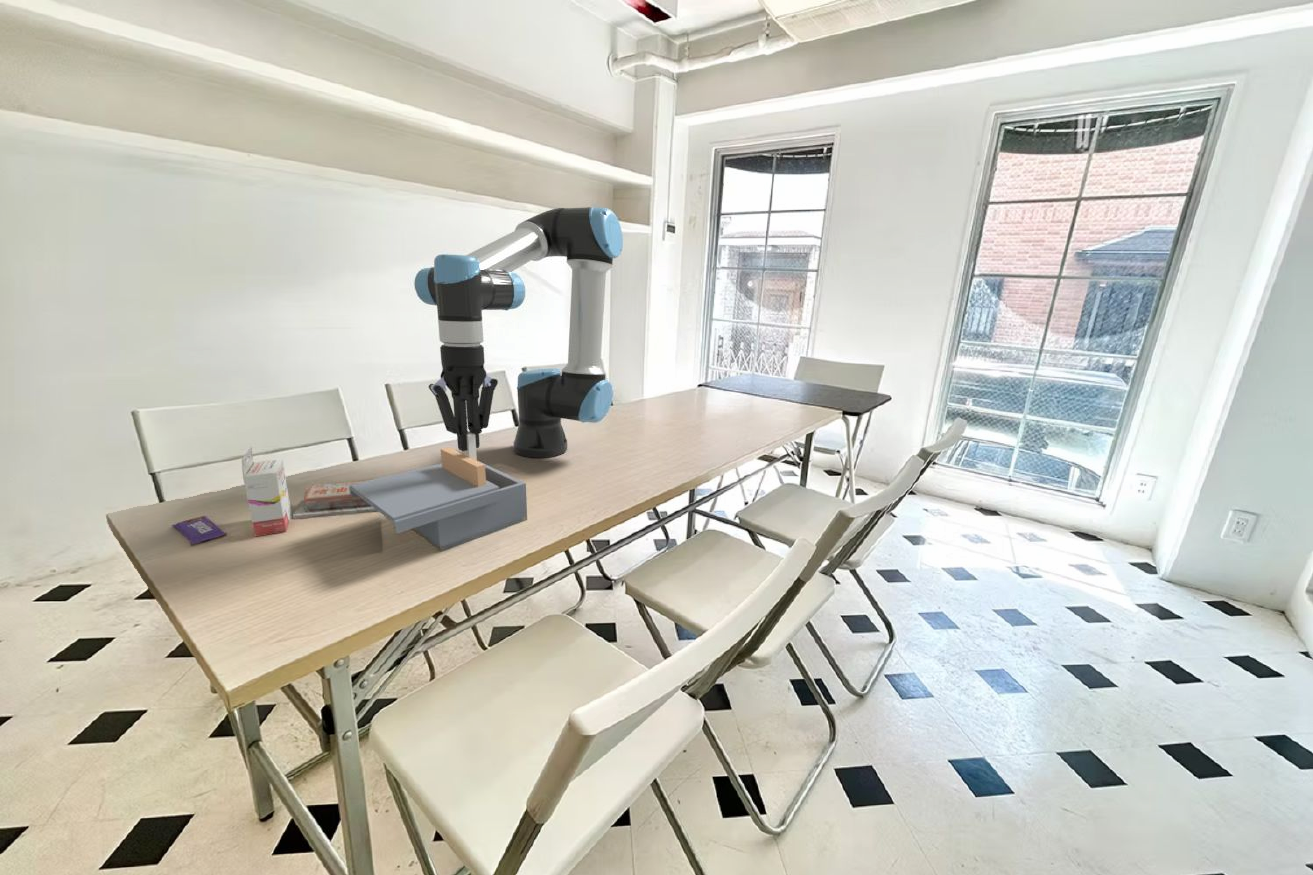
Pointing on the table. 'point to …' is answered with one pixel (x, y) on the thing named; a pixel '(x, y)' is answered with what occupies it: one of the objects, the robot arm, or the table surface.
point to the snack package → (199, 529)
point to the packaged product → (331, 501)
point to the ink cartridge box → (266, 494)
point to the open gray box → (480, 515)
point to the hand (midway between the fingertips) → (470, 464)
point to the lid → (429, 491)
